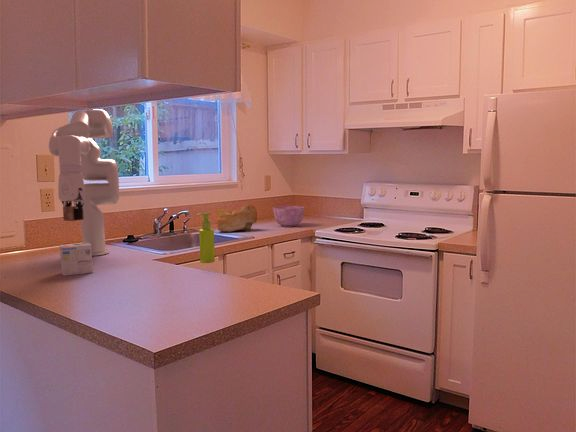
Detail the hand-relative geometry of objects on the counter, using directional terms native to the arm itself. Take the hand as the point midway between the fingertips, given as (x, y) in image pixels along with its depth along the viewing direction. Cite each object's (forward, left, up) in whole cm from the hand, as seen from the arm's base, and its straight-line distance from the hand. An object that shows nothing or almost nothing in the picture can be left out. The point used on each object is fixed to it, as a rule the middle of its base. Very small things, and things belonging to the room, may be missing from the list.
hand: (73, 218), depth 191 cm
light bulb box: (0, 0, -21) cm, 21 cm away
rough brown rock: (-21, +118, -21) cm, 122 cm away
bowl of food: (-5, +149, -21) cm, 151 cm away
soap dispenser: (+28, +40, -21) cm, 53 cm away
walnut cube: (0, 0, -1) cm, 1 cm away
